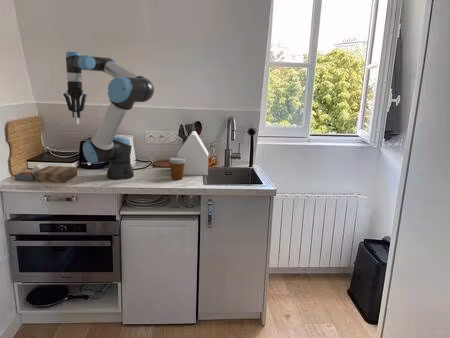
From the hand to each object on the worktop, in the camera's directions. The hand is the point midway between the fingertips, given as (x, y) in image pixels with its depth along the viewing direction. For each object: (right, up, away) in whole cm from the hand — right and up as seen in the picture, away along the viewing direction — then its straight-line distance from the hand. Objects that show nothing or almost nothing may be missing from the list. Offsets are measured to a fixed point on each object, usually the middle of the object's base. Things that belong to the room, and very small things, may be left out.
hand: (76, 123), depth 201 cm
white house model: (+64, -28, +24) cm, 74 cm away
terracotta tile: (-24, -27, -6) cm, 37 cm away
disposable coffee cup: (+57, -32, +5) cm, 65 cm away
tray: (-22, -31, -6) cm, 38 cm away
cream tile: (-18, -27, -6) cm, 33 cm away
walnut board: (-9, -31, -6) cm, 33 cm away
